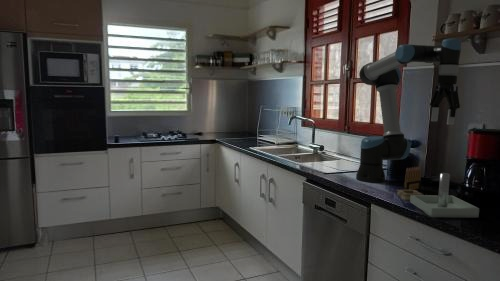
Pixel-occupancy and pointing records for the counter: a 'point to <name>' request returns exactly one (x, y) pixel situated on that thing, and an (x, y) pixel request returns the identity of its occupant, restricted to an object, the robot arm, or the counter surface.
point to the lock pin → (443, 190)
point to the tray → (453, 209)
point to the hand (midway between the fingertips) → (441, 122)
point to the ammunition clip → (413, 179)
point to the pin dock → (407, 193)
